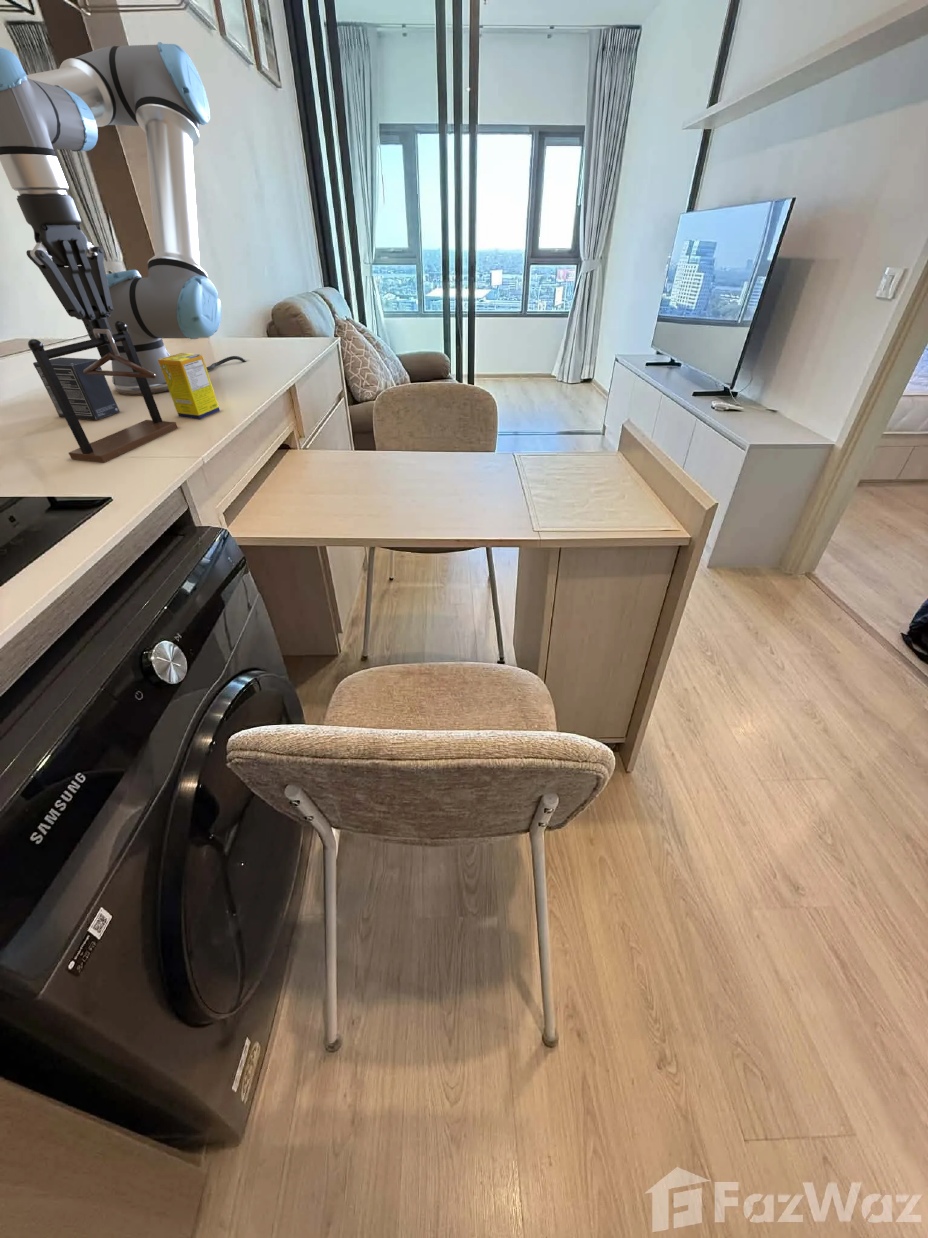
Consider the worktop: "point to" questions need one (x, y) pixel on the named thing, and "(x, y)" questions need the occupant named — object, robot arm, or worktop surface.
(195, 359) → the supplement box
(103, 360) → the hanger
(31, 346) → the clothes rail
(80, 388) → the small box
